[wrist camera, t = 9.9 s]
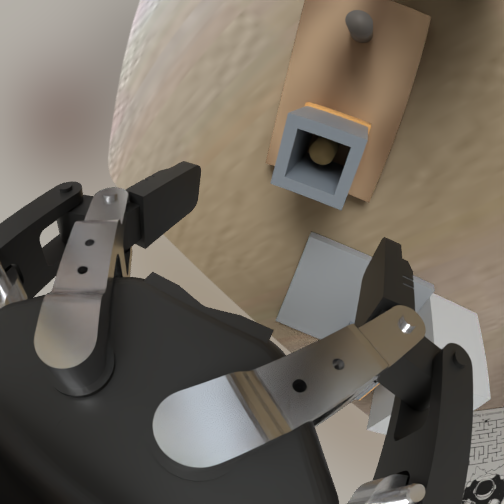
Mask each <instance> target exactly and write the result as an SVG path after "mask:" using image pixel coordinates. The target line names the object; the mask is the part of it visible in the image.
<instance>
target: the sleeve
mask: <svg viewBox="0 0 504 504" xmlns="http://www.w3.org/2000/svg"><path fill="white" fill-rule="evenodd" d="M370 128H371V123H368V122H366V121H363V120H360V119H358V118H355V117H352V116H350V115H347V114H344V113H341V112H339V111H336V110H333V109H330V108H327V107H324V106H321V105H317V104H314V103H311V102H306V103H305V107H302V108H300V109H297V110H294V111H291V112H289V113H288V115H287V119H286V123H285V127H284V131H283V135H282V140H281V144H280V148H279V152H278V156H277V160H276V164H275V168H274V172H273V176H272V180H271V184H273V185H276V186H279V187H282V188H284V189H287V190H290V191H293V192H295V193H298V194H301V195H303V196H306V197H308V198H311V199H314V200H316V201H319V202H321V203H324V204H326V205H329V206H331V207H334V208H336V209H339V210H342V208H343V205H344V203H345V200H346V197H347V195H348V192H349V190H350V187H351V185H352V182H353V179H354V177H355V174H356V171H357V169H358V166H359V163H360V160H361V158H362V155H363V152H364V149H365V146H366V144H367V141H368V134H369V131H370ZM312 133H313V134H316V135H319V136H322V137H324V138H327V139H330V140H333V141H336V142H338V143H341V144H344V145H346V146H349V147H351V148H350V151H349V153H348V156H347V159H346V162H345V165H344V166H343V165H341V164H338V163H335V162H333V161H331V162H330V163H329V164H326V165H320V164H317V163H315V162H314V161H313V160H312V159H311V157H310V154H309V153H308V152H307V151H308V147H309V144H310V140H311V137H312Z"/></svg>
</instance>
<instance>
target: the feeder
mask: <svg viewBox="0 0 504 504" xmlns="http://www.w3.org/2000/svg"><path fill="white" fill-rule="evenodd" d="M371 259H372V257H371V256H369V255H367V254H364V253H362V252H360V251H357V250H355V249H353V248H350V247H348V246H345V245H343V244H341V243H338V242H336V241H334V240H331V239H329V238H326V237H324V236H321V235H319V234H317V233H314V232H312V231H311V234H310V236H309V239H308V241H307V244H306V246H305V249H304V252H303V254H302V257H301V259H300V262H299V264H298V267H297V269H296V272H295V275H294V277H293V280H292V282H291V285H290V287H289V289H288V292H287V294H286V297H285V299H284V302H283V304H282V307H281V309H280V311H279V314H278V316H277V318H276V321H278V322H280V323H282V324H285V325H287V326H289V327H292V328H294V329H296V330H299V331H301V332H304V333H306V334H309V335H311V336H313V337H316V338H318V339H322V338H324V337H326V336H328V335H330V334H332V333H334V332H336V331H338V330H340V329H342V328H344V327H346V326H348V324H349V323H350V321H351V322H353V323H355V317H356V312H357V307H358V301H359V295H360V289H361V283H362V278H363V275H364V273H365V270H366V268H367V266H368V264H369V262H370V261H371ZM413 282H414V288H413V289H414V295H415V312H417V313H418V314H419V316H420V317H421V318H422V320H423V322H424V324H425V328H426V332H425V337H426V338H428V339H429V340H430V341H431V342H433V343H434V344H435V345H436V346H438V347H439V348H440V349H443V348H444V347H445V346H446V345H447V344H448V343H456V344H458V345H460V346H461V347H462V348H463V349H465V351H466V352H467V353H468V355H469V357H470V359H471V362H472V367H473V411H474V410H475V409H477V408H478V407H480V406H481V405H483V404H484V403H486V402H487V401H488V400H490V399H491V398H490V387H489V378H488V370H487V363H486V357H485V351H484V345H483V340H482V335H481V330H480V325H479V321H478V317H477V313H475V312H473V311H471V310H468V309H466V308H464V307H462V306H460V305H458V304H456V303H454V302H452V301H449V300H447V299H445V298H443V297H441V296H439V295H437V294H434V293H433V292H434V291H435V290H434V285H433V284H431V283H429V282H427V281H425V280H422V279H420V278H418V277H416V276H414V275H413ZM394 398H395V395H394V394H393V393H392V392H390V391H389V390H388V389H386V388H385V387H383V386H382V385H381V384H379V385H378V386H376V387H375V388H374V394H373V400H372V405H371V411H370V416H369V421H368V425H367V430H370V431H374V432H377V433H381V434H385V435H386V434H387V430H388V426H389V421H390V417H391V412H392V408H393V403H394Z"/></svg>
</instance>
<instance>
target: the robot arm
mask: <svg viewBox="0 0 504 504" xmlns="http://www.w3.org/2000/svg"><path fill="white" fill-rule="evenodd" d="M200 176H201V168H200V166H198V165H195V164H192V163H189V162H185V161H183V162H181V163H179V164H177V165H175V166H173V167H171V168H169V169H165V170H161V171H158V172H156V173H155V174H153V175H152V176H149V177H147V178H145V180H142V181H140V182H138V183H136V184H135V185H133V186H131V187H129V188H128V189H126V190H124V189H122V188H115V187H112V188H106V189H103V190H100V191H99V192H97V193H96V194H95V195H94V196H87V195H83V193H82V186H81V184H80V183H78V182H66V183H62V184H60V185H58V186H56V187H54V188H53V189H51V190H49V191H48V192H46V193H45V194H43V195H42V196H40V197H38V198H37V199H35V200H34V201H32V202H31V203H29V204H28V205H26V206H25V207H23V208H22V209H20V210H19V211H17V212H16V213H14V214H13V215H12V216H10V217H9V218H7V219H6V220H5V221H3V222H2V223H1V224H0V504H339V500H338V495H337V492H336V489H335V487H334V483H333V481H332V477H331V474H330V472H329V469H328V466H327V462H326V460H325V457H324V454H323V451H322V448H321V445H320V442H319V439H318V436H317V433H316V430H315V426H317V425H319V424H320V423H322V422H323V421H325V420H327V419H328V418H329V417H331V416H332V415H334V414H335V413H336V412H338V411H339V410H341V409H342V408H343V407H345V406H346V405H348V404H349V403H351V402H352V401H353V400H355V399H356V398H358V397H359V396H360V395H362V394H363V393H364V392H366V391H367V390H368V389H370V388H371V387H372V386H374V385H375V384H376V383H377V382H378V383H379V384H381V385H382V386H383V387H385V388H386V389H388V390H389V391H390V392H392V393H393V394H394V395H395V398H394V403H393V408H392V412H391V417H390V421H389V426H388V430H387V434H386V438H385V441H384V445H383V449H382V452H381V456H380V459H379V463H378V466H377V469H376V472H375V475H374V478H373V481H370V482H367V483H365V484H363V485H361V486H360V487H359V488H358V489H357V490H356V491H355V492H354V494H353V496H352V498H351V499H350V501H349V502H348V503H347V504H461V503H462V499H463V494H464V489H465V484H466V478H467V472H468V465H469V458H470V449H471V439H472V425H473V367H472V362H471V359H470V357H469V355H468V353H467V352H466V351H465V349H463V348H462V347H461V346H460V345H458V344H456V343H448V344H447V345H446V346H445V347H444V348H443V349H440V348H439V347H438V346H436V345H435V344H434V343H433V342H431V341H430V340H429V339H428V338H426V337H425V332H426V328H425V324H424V322H423V320H422V318H421V317H420V316H419V314H418V313H417V312H415V295H414V289H413V288H414V282H413V271H412V269H411V267H410V265H409V263H408V261H406V260H404V259H402V251H401V244H399V243H396V242H394V241H392V240H390V239H388V238H385V237H384V238H383V239H382V240H381V242H380V244H379V246H378V248H377V250H376V251H375V253H374V255H373V257H372V259H371V261H370V262H369V264H368V266H367V268H366V270H365V273H364V275H363V278H362V283H361V289H360V295H359V301H358V307H357V312H356V317H355V323H354V324H350V325H348V326H346V327H344V328H342V329H340V330H338V331H336V332H334V333H332V334H330V335H328V336H326V337H324V338H322V339H320V340H318V341H316V342H314V343H312V344H310V345H308V346H306V347H304V348H302V349H300V350H298V351H295V352H293V353H291V354H289V355H287V356H286V355H285V354H284V353H283V351H282V350H281V349H280V348H279V347H278V346H276V345H275V344H274V343H273V342H272V341H270V340H269V339H270V337H271V335H272V333H273V330H272V329H270V328H267V327H265V326H263V325H261V324H259V323H256V322H254V321H252V320H250V319H247V318H245V317H243V316H241V315H237V314H232V313H228V312H224V311H220V310H216V309H212V308H208V307H205V306H203V305H202V304H200V303H199V302H198V301H197V300H196V299H194V298H193V297H192V296H191V295H190V294H188V293H187V292H186V291H185V290H184V289H182V288H181V287H180V286H179V285H177V284H175V283H173V282H171V281H169V280H167V279H165V278H163V277H161V276H160V275H158V274H156V273H154V272H152V273H151V274H150V275H149V276H148V277H147V278H146V279H142V278H136V277H130V272H131V261H132V246H133V245H134V244H137V245H139V246H141V247H143V248H145V249H146V248H147V247H148V246H149V245H150V244H152V243H153V242H154V241H155V240H156V239H158V238H159V237H160V236H161V235H163V234H164V233H165V232H166V231H168V230H169V229H170V228H171V227H172V226H174V225H175V224H176V223H177V222H179V221H180V220H181V219H182V218H184V217H185V216H186V215H187V214H189V213H190V212H191V211H192V210H193V209H194V208H195V206H196V204H197V201H198V195H199V185H200ZM56 220H57V224H58V228H59V233H60V234H59V235H58V236H56V237H55V238H54V239H53V240H51V241H50V242H49V243H48V244H46V245H45V246H44V247H43V248H42V247H41V244H40V234H41V232H42V231H43V230H44V229H45V228H46V227H48V226H49V225H50V224H52V223H53V222H54V221H56ZM55 276H56V278H55V282H54V285H53V289H52V291H51V292H50V293H47V294H46V295H42V296H38V297H34V296H35V295H36V294H37V293H38V292H39V291H40V290H41V289H42V288H43V287H44V286H45V285H47V284H48V283H49V282H50V281H51V280H52V279H53V278H54V277H55ZM33 297H34V298H33Z"/></svg>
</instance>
